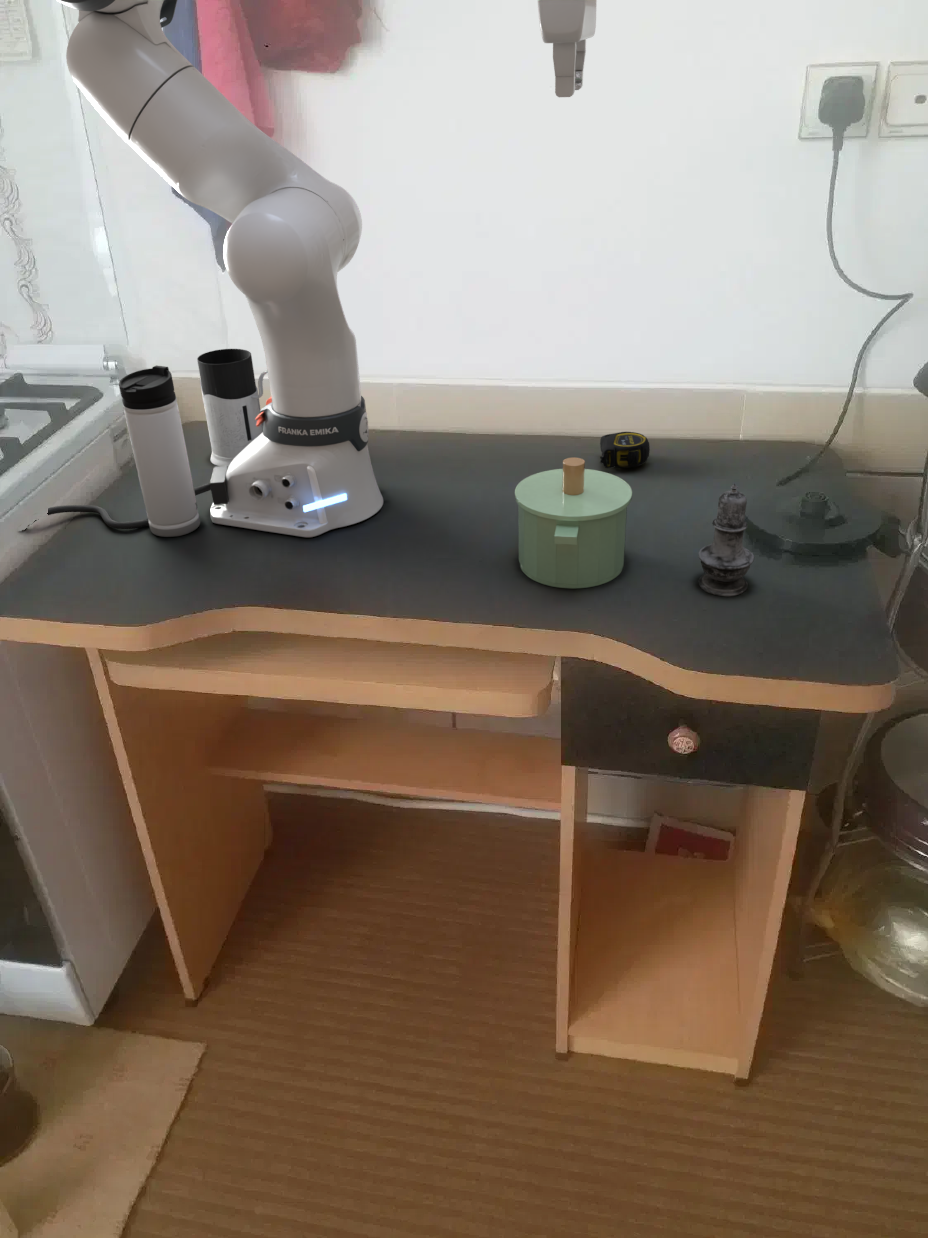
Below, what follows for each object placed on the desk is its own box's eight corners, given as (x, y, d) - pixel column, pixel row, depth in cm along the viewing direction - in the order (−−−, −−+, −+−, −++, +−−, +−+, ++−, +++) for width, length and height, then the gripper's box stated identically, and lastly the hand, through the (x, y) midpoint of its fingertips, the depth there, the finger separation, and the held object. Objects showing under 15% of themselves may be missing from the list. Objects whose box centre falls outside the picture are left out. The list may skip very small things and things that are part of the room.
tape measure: (599, 454, 142) (600, 429, 140) (647, 454, 142) (649, 429, 140) (599, 473, 136) (600, 447, 135) (649, 473, 136) (651, 447, 134)
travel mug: (212, 519, 128) (184, 367, 118) (179, 541, 123) (147, 384, 113) (173, 512, 130) (142, 362, 120) (140, 533, 125) (105, 378, 115)
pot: (509, 597, 108) (508, 527, 104) (529, 527, 123) (529, 463, 118) (619, 604, 106) (623, 533, 102) (626, 532, 121) (630, 467, 116)
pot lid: (506, 523, 106) (506, 482, 104) (522, 475, 117) (522, 437, 114) (629, 529, 104) (631, 488, 101) (633, 479, 115) (636, 441, 112)
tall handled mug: (234, 442, 152) (218, 344, 144) (312, 454, 146) (300, 354, 138) (198, 462, 145) (179, 361, 137) (278, 476, 139) (263, 372, 132)
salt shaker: (751, 599, 106) (765, 496, 100) (695, 595, 107) (705, 494, 101) (749, 573, 111) (762, 474, 105) (695, 569, 112) (705, 471, 106)
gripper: (550, -65, 102) (549, 86, 109) (525, -80, 85) (525, 101, 92) (612, -69, 101) (607, 85, 108) (599, -84, 84) (593, 99, 91)
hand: (569, 93), depth 100 cm, fingers open, 8 cm apart
